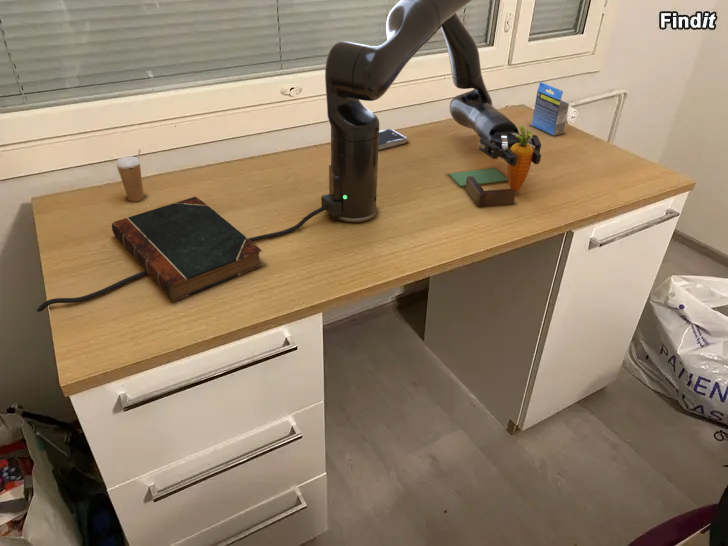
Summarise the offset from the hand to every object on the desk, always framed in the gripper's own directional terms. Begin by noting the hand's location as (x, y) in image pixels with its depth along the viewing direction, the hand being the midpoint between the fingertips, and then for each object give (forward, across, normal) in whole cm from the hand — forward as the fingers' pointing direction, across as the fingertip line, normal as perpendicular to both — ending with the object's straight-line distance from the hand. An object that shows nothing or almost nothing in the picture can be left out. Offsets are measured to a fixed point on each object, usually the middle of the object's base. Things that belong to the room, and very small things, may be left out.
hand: (526, 160), depth 122 cm
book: (+10, -70, +9) cm, 71 cm away
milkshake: (-13, -81, +9) cm, 82 cm away
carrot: (-3, 0, +9) cm, 10 cm away
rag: (-11, -5, +9) cm, 15 cm away
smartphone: (-34, -24, +9) cm, 43 cm away
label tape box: (-37, +24, +9) cm, 45 cm away
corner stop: (-2, -6, +9) cm, 11 cm away
